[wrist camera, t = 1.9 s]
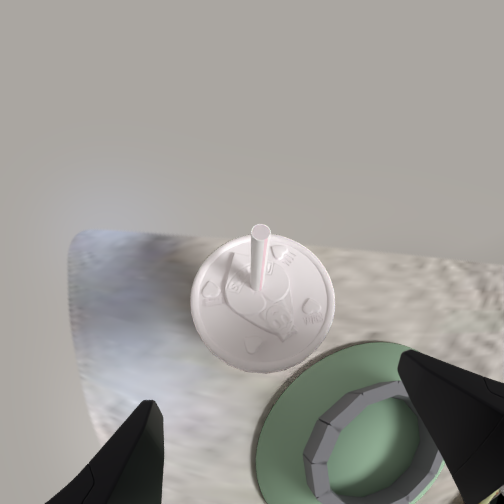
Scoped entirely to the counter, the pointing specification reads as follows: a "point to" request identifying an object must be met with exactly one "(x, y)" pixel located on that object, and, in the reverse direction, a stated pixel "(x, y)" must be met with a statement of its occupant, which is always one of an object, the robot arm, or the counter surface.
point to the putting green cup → (347, 435)
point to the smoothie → (262, 302)
